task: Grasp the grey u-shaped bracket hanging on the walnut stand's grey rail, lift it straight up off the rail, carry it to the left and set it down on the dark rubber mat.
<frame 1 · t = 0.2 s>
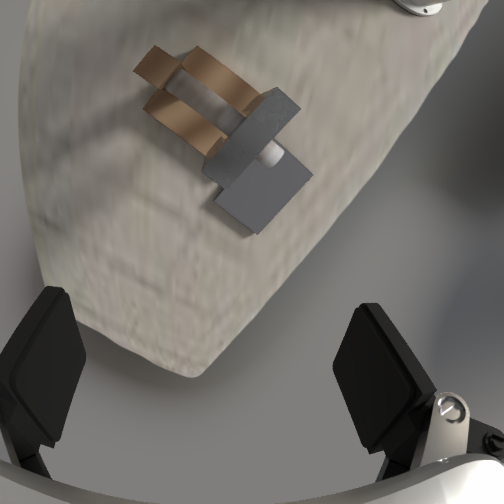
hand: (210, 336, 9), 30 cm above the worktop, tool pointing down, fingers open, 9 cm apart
hook stand: (214, 109, 32), on the worktop
rubber mat: (263, 186, 37), on the worktop
grey u-shaped bracket: (256, 110, 27), point 6 cm above the worktop, touching hook stand
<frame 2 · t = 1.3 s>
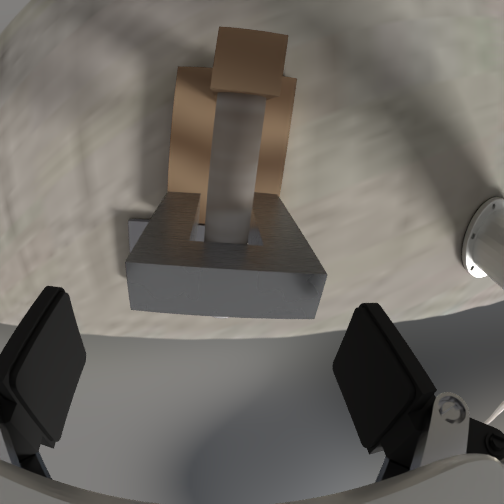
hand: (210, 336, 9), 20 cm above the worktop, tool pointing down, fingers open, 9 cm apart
hook stand: (228, 147, 25), on the worktop
rubber mat: (183, 256, 29), on the worktop
grey u-shaped bracket: (260, 207, 21), point 6 cm above the worktop, touching hook stand
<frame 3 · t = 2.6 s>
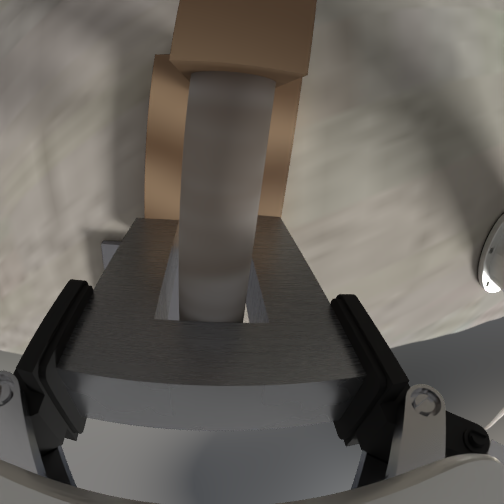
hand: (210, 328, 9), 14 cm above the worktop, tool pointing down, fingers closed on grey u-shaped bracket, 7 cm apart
hook stand: (217, 153, 20), on the worktop
rubber mat: (167, 284, 24), on the worktop
grey u-shaped bracket: (257, 233, 17), point 6 cm above the worktop, touching gripper, hook stand
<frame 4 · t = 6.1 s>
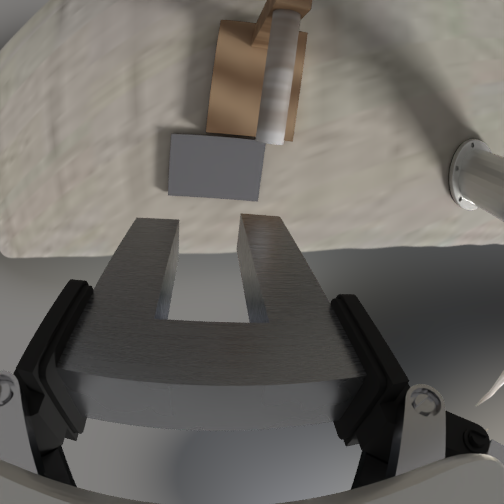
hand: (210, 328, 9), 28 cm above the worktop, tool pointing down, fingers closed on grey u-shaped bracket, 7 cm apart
hook stand: (256, 79, 29), on the worktop
rubber mat: (215, 166, 34), on the worktop
grey u-shaped bracket: (257, 233, 17), point 20 cm above the worktop, touching gripper
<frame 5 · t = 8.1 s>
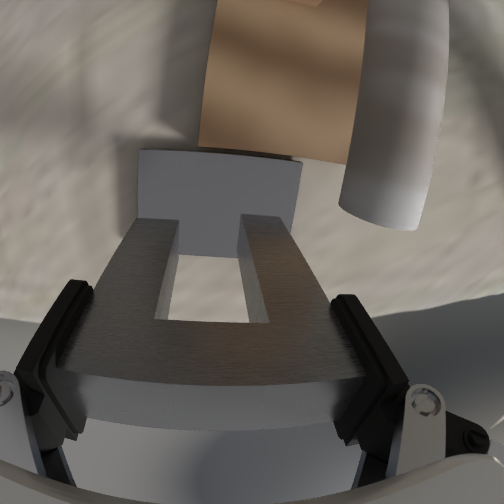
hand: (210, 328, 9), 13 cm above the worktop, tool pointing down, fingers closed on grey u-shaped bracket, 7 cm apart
hook stand: (286, 54, 16), on the worktop
rubber mat: (215, 205, 20), on the worktop
grey u-shaped bracket: (257, 233, 17), point 5 cm above the worktop, touching gripper
when the fingers open (10 cm above the worktop, at t = 9.7 s): grey u-shaped bracket drops 1 cm, resting on rubber mat.
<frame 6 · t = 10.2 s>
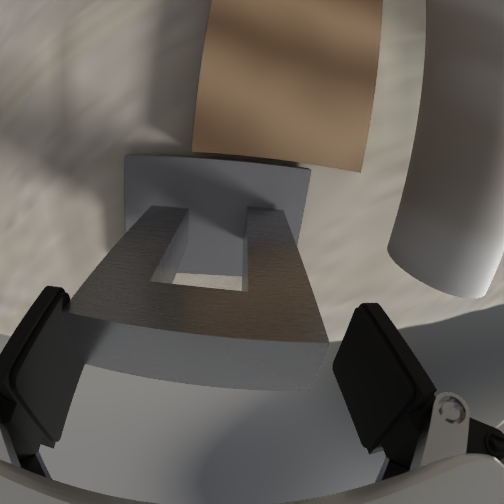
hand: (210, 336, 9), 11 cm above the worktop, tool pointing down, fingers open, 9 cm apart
hook stand: (293, 47, 14), on the worktop
rubber mat: (212, 217, 18), on the worktop
grey u-shaped bracket: (262, 224, 18), point 1 cm above the worktop, tilted 5°, touching gripper, rubber mat
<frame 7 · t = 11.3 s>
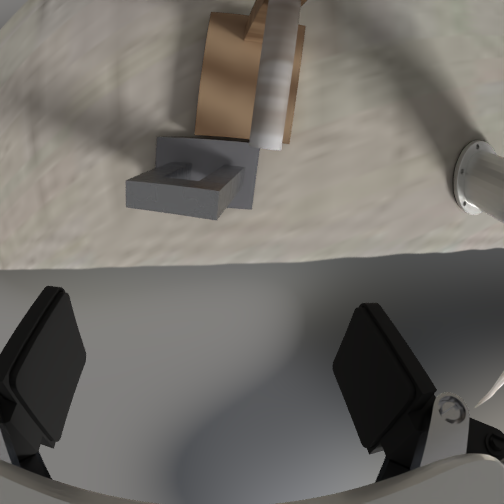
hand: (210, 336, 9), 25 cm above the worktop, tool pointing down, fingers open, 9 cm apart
hook stand: (249, 76, 27), on the worktop
rubber mat: (205, 172, 31), on the worktop
grey u-shaped bracket: (233, 175, 31), point 1 cm above the worktop, tilted 16°, touching rubber mat
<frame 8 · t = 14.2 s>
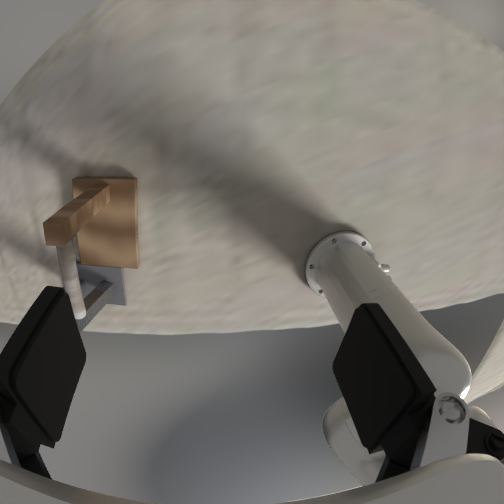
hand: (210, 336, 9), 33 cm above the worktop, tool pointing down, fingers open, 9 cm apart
hook stand: (106, 222, 40), on the worktop
rubber mat: (95, 282, 45), on the worktop
grey u-shaped bracket: (109, 287, 44), point 1 cm above the worktop, tilted 16°, touching rubber mat
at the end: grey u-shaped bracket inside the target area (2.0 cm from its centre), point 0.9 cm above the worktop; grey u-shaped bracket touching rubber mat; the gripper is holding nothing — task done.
